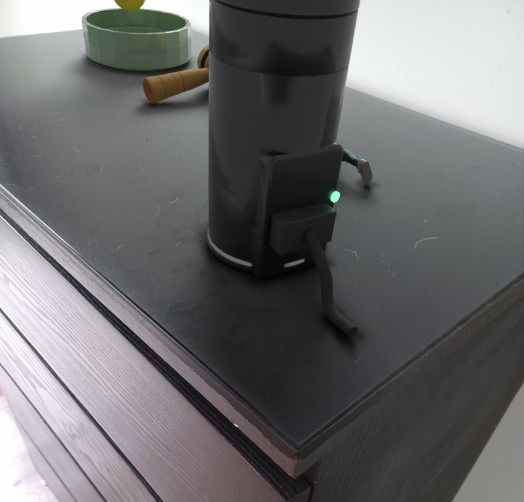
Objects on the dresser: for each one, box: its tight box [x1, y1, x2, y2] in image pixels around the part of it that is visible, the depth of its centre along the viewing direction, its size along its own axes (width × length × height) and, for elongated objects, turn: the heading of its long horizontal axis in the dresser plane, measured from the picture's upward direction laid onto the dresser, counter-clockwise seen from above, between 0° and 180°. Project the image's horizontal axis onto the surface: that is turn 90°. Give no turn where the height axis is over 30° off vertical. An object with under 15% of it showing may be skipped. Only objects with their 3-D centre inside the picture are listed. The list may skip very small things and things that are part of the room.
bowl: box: [81, 7, 192, 72], centre depth 78 cm, size 15×15×5 cm
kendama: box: [142, 43, 209, 105], centre depth 68 cm, size 8×6×18 cm
